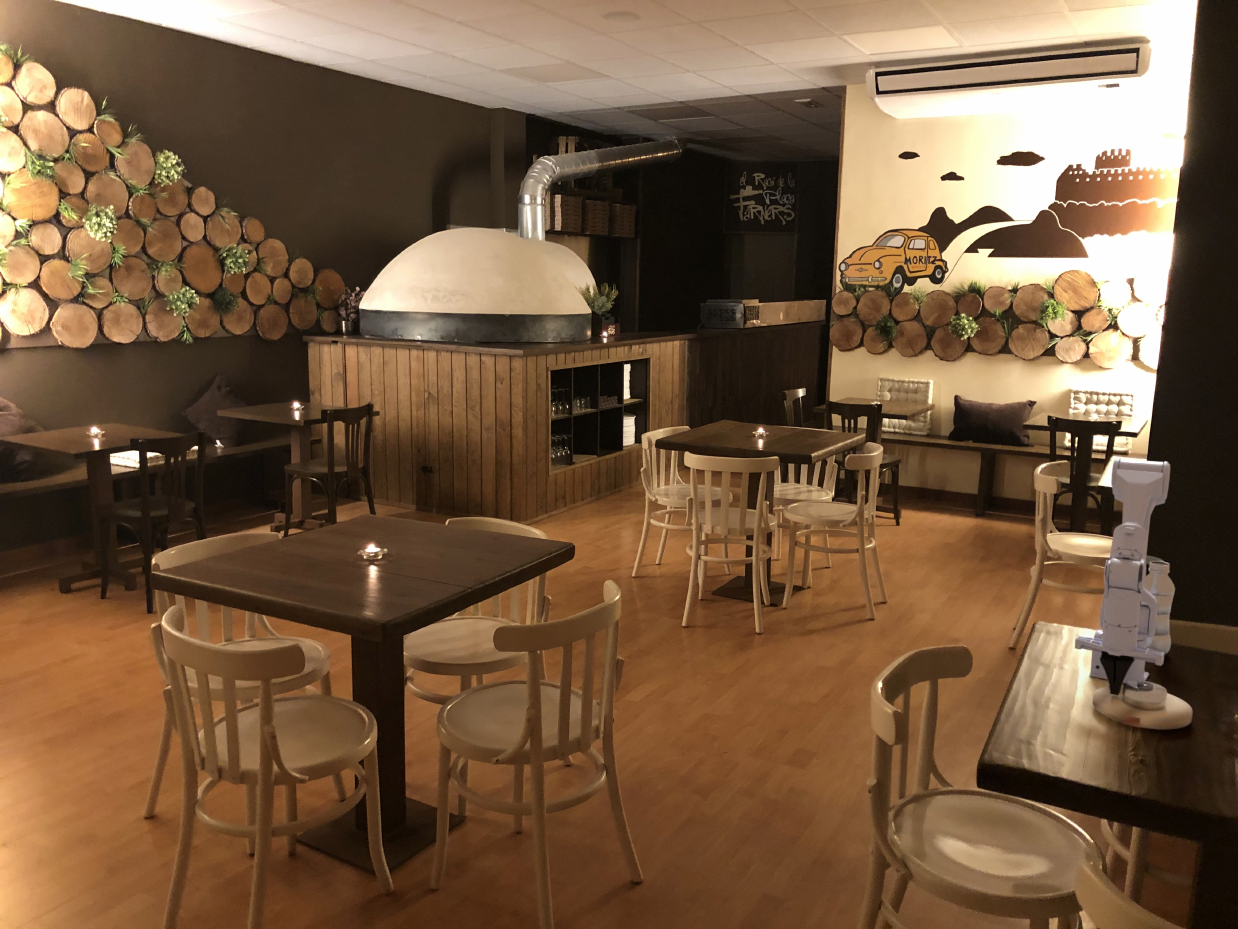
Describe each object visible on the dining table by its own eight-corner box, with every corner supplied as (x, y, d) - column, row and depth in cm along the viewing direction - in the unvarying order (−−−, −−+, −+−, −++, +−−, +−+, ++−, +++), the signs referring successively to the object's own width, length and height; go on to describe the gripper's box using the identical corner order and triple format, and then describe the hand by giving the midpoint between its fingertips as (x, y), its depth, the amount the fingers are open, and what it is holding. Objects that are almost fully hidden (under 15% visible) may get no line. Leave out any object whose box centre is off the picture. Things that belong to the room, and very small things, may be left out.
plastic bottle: (1174, 659, 204) (1182, 568, 201) (1139, 657, 206) (1147, 566, 202) (1164, 649, 211) (1171, 559, 207) (1130, 647, 212) (1137, 558, 209)
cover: (1117, 704, 177) (1118, 685, 176) (1127, 692, 182) (1129, 674, 181) (1160, 714, 172) (1161, 695, 171) (1169, 702, 177) (1171, 683, 177)
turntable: (1082, 714, 176) (1083, 706, 176) (1103, 686, 189) (1104, 678, 188) (1183, 738, 166) (1184, 729, 166) (1198, 706, 179) (1199, 699, 179)
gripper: (1072, 620, 179) (1067, 690, 181) (1161, 636, 170) (1154, 709, 172) (1082, 610, 184) (1077, 678, 187) (1168, 626, 176) (1162, 697, 178)
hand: (1115, 692), depth 180 cm, fingers closed
